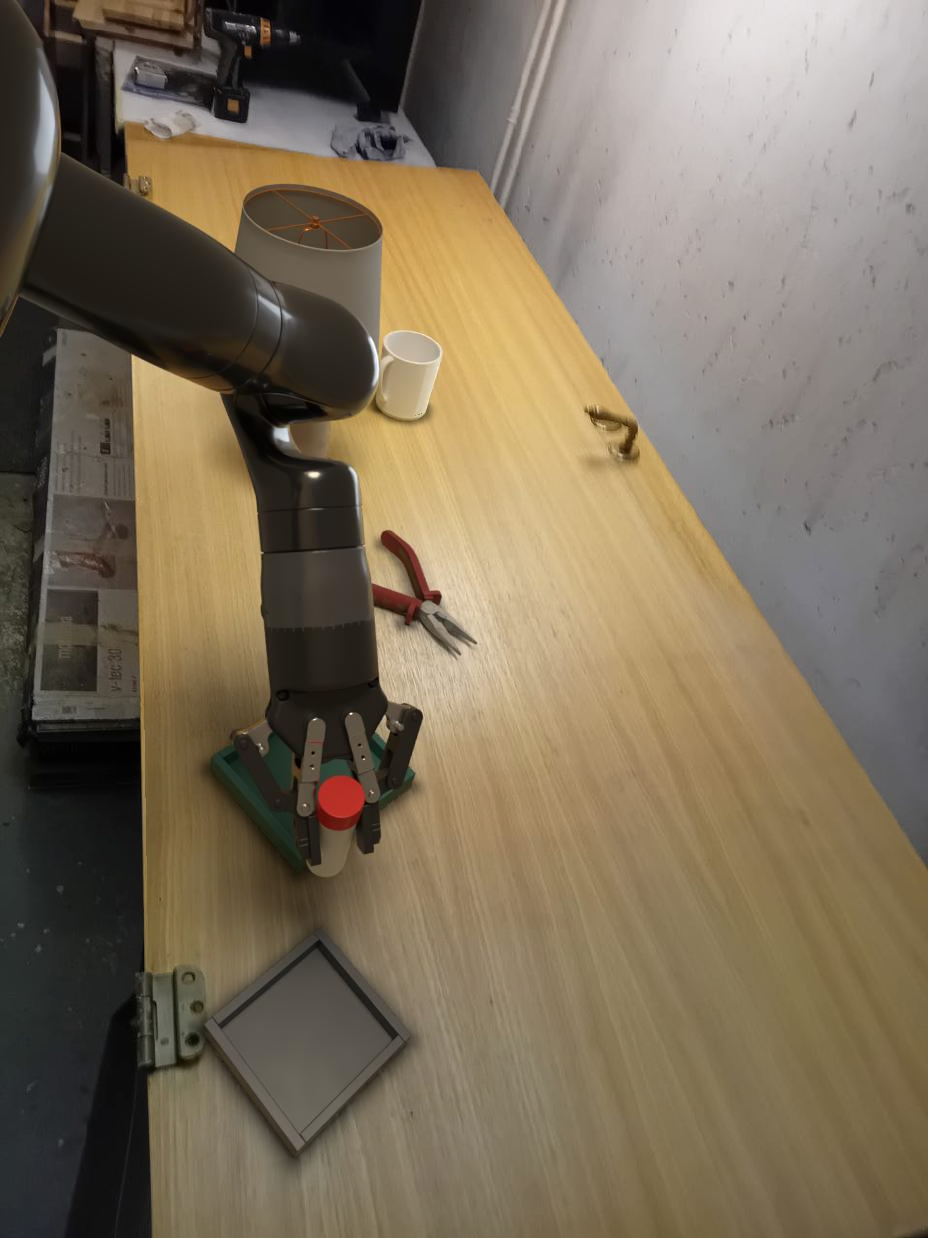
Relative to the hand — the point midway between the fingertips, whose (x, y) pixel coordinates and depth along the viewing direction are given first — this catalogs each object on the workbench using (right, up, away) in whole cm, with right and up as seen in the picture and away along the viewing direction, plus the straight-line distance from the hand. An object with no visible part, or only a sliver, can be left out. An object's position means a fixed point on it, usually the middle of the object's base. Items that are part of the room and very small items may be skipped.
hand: (340, 854), depth 58 cm
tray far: (-6, +1, +24) cm, 25 cm away
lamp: (-15, +38, +54) cm, 68 cm away
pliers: (0, +19, +42) cm, 46 cm away
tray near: (-4, -17, +8) cm, 20 cm away
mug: (-2, +50, +69) cm, 85 cm away
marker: (-2, -2, +5) cm, 5 cm away
